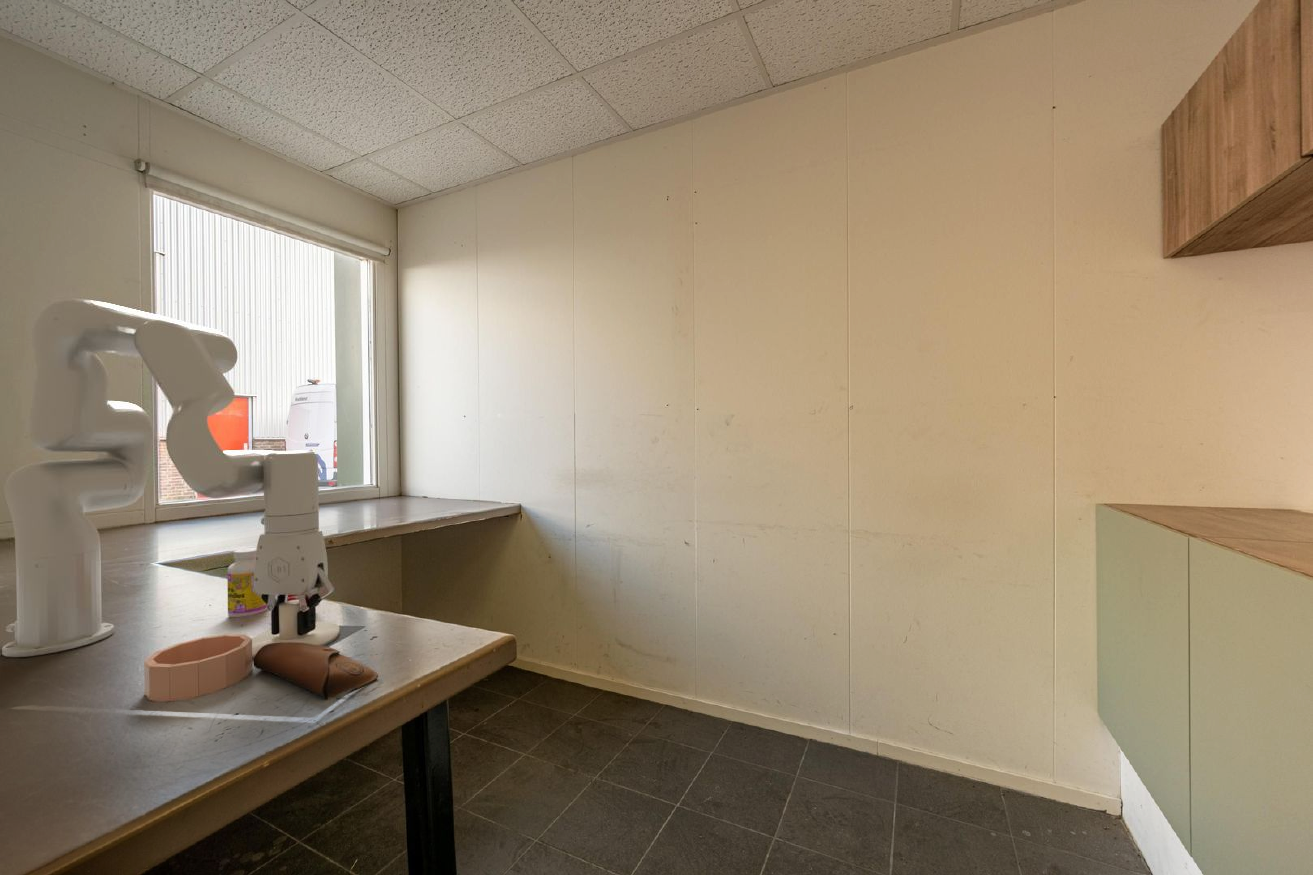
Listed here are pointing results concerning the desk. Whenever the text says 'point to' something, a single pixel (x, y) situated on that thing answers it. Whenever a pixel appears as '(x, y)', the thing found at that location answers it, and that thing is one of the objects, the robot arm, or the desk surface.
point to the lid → (295, 630)
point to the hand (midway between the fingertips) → (293, 630)
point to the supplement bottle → (243, 585)
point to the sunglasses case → (314, 667)
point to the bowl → (197, 667)
